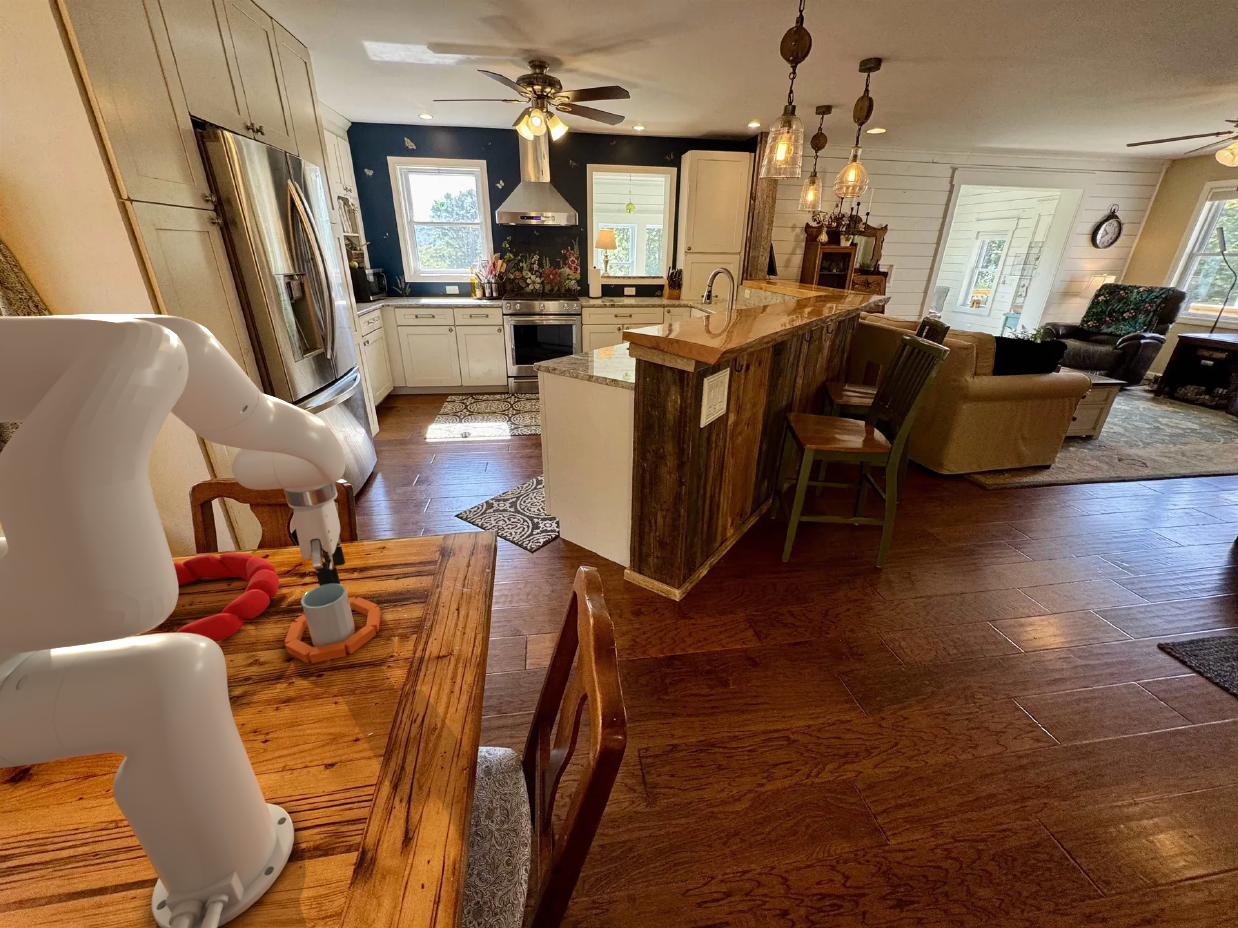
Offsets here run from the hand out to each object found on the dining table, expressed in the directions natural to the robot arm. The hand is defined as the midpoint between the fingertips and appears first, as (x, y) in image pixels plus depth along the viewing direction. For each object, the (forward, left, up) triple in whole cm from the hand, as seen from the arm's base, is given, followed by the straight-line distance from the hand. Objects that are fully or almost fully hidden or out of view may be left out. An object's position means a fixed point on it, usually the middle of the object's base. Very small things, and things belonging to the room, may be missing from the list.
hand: (333, 574), depth 93 cm
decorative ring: (+7, +27, -8) cm, 29 cm away
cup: (-8, 0, -8) cm, 11 cm away
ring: (-7, 0, -8) cm, 10 cm away
